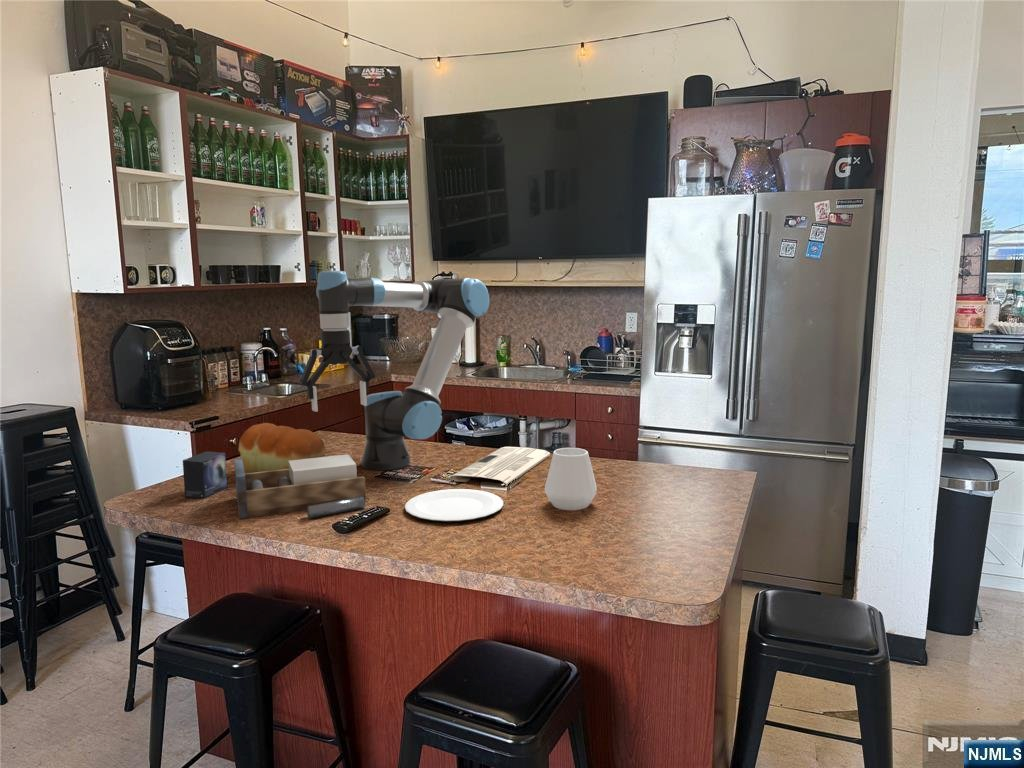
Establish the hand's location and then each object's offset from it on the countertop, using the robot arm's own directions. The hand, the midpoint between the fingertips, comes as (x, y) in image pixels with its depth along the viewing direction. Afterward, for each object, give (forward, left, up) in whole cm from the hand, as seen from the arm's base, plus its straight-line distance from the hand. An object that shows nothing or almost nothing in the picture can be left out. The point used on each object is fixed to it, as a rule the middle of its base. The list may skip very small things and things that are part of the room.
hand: (339, 407), depth 187 cm
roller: (+5, +18, -23) cm, 30 cm away
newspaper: (-50, -3, -24) cm, 55 cm away
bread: (+14, -24, -24) cm, 37 cm away
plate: (-23, +27, -24) cm, 43 cm away
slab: (+6, +3, -18) cm, 19 cm away
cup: (-51, +37, -24) cm, 67 cm away
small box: (+35, -15, -24) cm, 45 cm away
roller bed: (+12, +3, -23) cm, 26 cm away
